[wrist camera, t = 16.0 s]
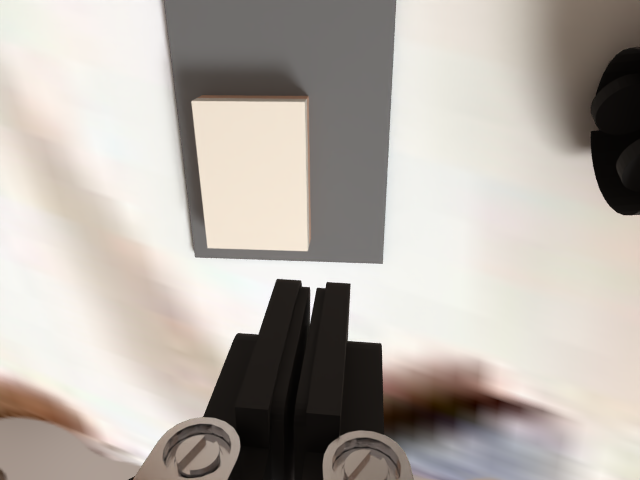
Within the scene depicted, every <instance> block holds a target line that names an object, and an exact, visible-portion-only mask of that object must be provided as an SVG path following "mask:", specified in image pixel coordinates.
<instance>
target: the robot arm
mask: <svg viewBox="0 0 640 480" xmlns="http://www.w3.org/2000/svg"><path fill="white" fill-rule="evenodd" d="M349 303H350V284H348V283H332V282H327V283H326V288H317V290H316V295H315V301H314V306H313V311H312V317H311V322H310V287H302V283H301V281H300V280H284V279H277V280H276V283H275V286H274V289H273V292H272V295H271V298H270V301H269V304H268V307H267V310H266V313H265V316H264V319H263V322H262V325H261V328H260V332H259V335H256V334H242V333H238V334H237V335H236V336H235V338H234V340H233V343H232V345H231V348H230V350H229V353H228V355H227V358H226V360H225V363H224V366H223V368H222V371H221V373H220V376H219V378H218V381H217V383H216V386H215V388H214V391H213V393H212V396H211V399H210V401H209V404H208V406H207V409H206V411H205V414H204V416H203V417H200V418H194V419H189V420H187V421H184V422H181V423H179V424H177V425H176V426H174V427H173V428H171V429H170V430H168V431H167V432H166V433H165V434H164V435H163V436H162V437H161V439H160V440H159V441H158V442H157V444H156V445H155V447H154V448H153V450H152V451H151V453H150V454H149V456H148V457H147V459H146V460H145V462H144V463H143V465H142V466H141V468H140V469H139V471H138V472H137V474H136V475H135V476H134V477H132V478H131V479H129V480H414V478H413V474H412V470H411V466H410V463H409V460H408V458H407V456H406V454H405V452H404V451H403V449H402V448H401V447H400V446H399V445H398V444H397V443H396V442H395V441H393V440H392V439H390V438H388V437H387V436H385V435H384V417H383V376H382V345H381V343H367V342H353V341H348V323H349Z"/></svg>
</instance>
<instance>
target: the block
mask: <svg viewBox="0 0 640 480" xmlns="http://www.w3.org/2000/svg"><path fill="white" fill-rule="evenodd" d="M191 103H192V112H193V121H194V130H195V139H196V148H197V157H198V166H199V175H200V185H201V194H202V203H203V212H204V221H205V230H206V239H207V248H219V249H251V250H283V251H308V248H309V244H310V240H311V208H310V145H309V96H245V95H201V96H200V97H198V98H196V99H194V100H192V101H191Z"/></svg>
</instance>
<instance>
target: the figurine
mask: <svg viewBox="0 0 640 480" xmlns="http://www.w3.org/2000/svg"><path fill="white" fill-rule="evenodd" d="M591 114H592V117H593V119H594V121H595V123H596V126H597V127H598V128H599V130H600V131H591V153H592V161H593V167H594V172H595V176H596V180H597V183H598V185H599V188H600V191H601V193H602V195H603V197H604V199H605V200H606V201H607V203H608V204H609V206H610V207H611V208H612V209H614V210H615V211H616V212H617V213H620V214H622V215H640V47H635V48H629V49H625V50H623V51H621V52H620V53H619V54H617V55H616V56H615V57H614V58H613V60H612V61H611V62H610V63H609V65H608V66H607V68H606V70H605V72H604V74H603V76H602V78H601V81H600V83H599V86H598V90H597V93H596V96H595V98H594V100H593V102H592V105H591Z"/></svg>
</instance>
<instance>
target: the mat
mask: <svg viewBox="0 0 640 480" xmlns="http://www.w3.org/2000/svg"><path fill="white" fill-rule="evenodd" d="M164 4H165V12H166V20H167V29H168V37H169V45H170V53H171V62H172V70H173V78H174V87H175V95H176V103H177V111H178V120H179V128H180V136H181V145H182V153H183V161H184V169H185V178H186V186H187V194H188V202H189V211H190V219H191V227H192V236H193V244H194V252H195V257H200V258H229V259H259V260H288V261H318V262H347V263H377V264H383V245H384V226H385V206H386V187H387V168H388V148H389V129H390V109H391V90H392V70H393V51H394V32H395V12H396V0H164ZM201 95H245V96H309V145H310V208H311V240H310V244H309V248H308V251H283V250H251V249H219V248H207V239H206V230H205V221H204V212H203V203H202V194H201V185H200V175H199V166H198V157H197V148H196V139H195V130H194V121H193V112H192V103H191V101H192V100H194V99H196V98H198V97H200V96H201Z"/></svg>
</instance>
